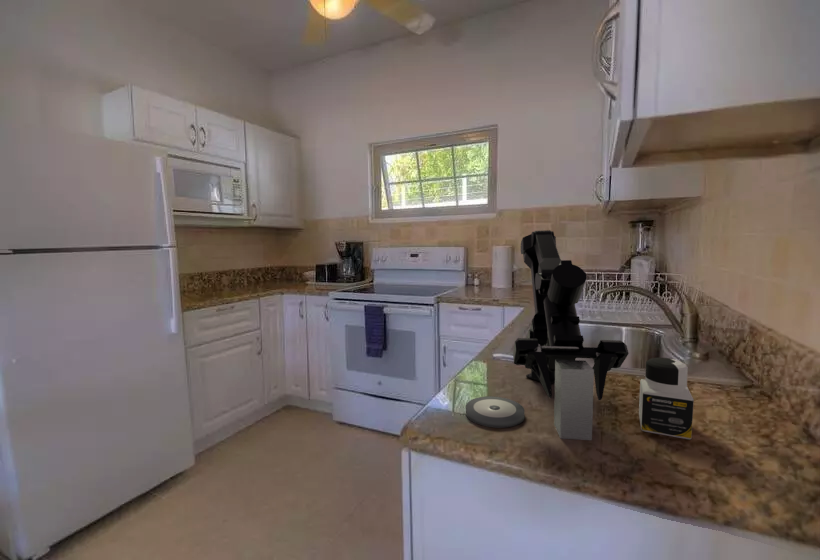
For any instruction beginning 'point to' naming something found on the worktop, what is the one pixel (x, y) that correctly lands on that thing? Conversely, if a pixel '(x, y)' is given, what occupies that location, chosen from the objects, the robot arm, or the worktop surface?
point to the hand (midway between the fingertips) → (575, 398)
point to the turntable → (495, 412)
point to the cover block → (573, 399)
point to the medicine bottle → (666, 399)
